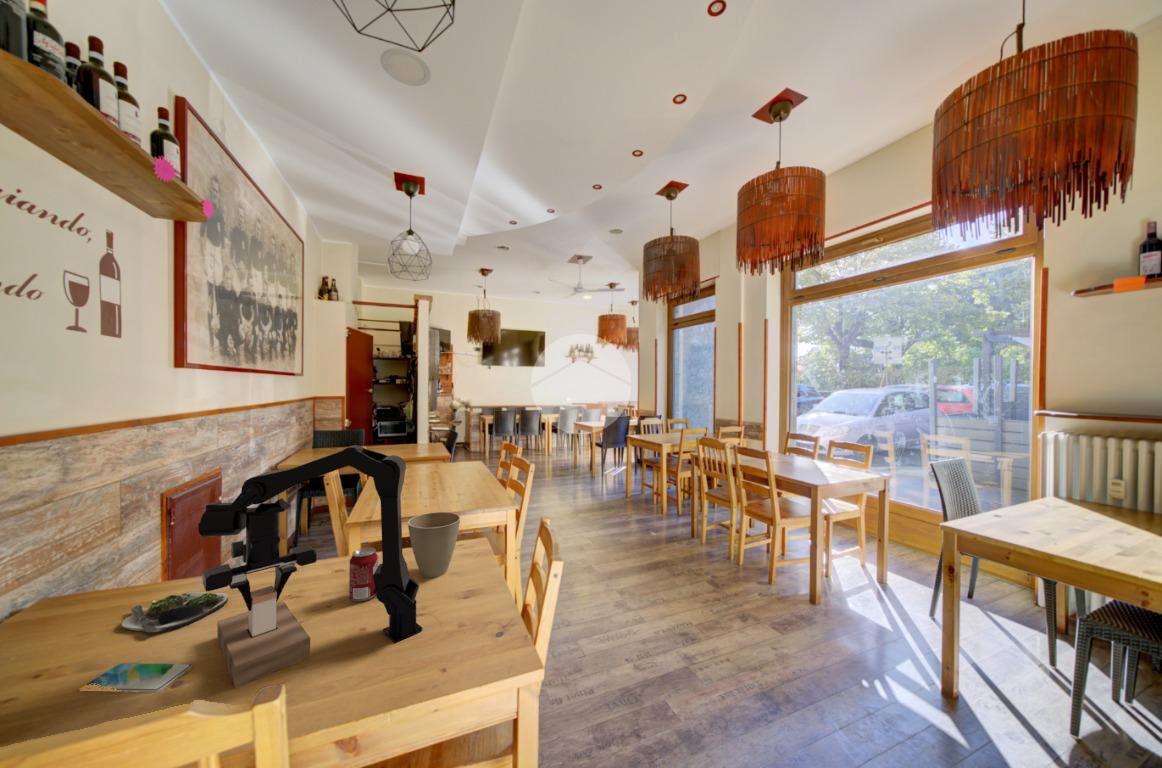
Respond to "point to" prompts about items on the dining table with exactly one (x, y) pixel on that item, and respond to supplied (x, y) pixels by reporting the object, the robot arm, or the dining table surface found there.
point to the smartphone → (141, 676)
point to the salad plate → (174, 612)
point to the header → (261, 645)
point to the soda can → (362, 574)
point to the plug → (262, 611)
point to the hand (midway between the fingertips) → (262, 606)
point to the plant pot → (433, 541)
